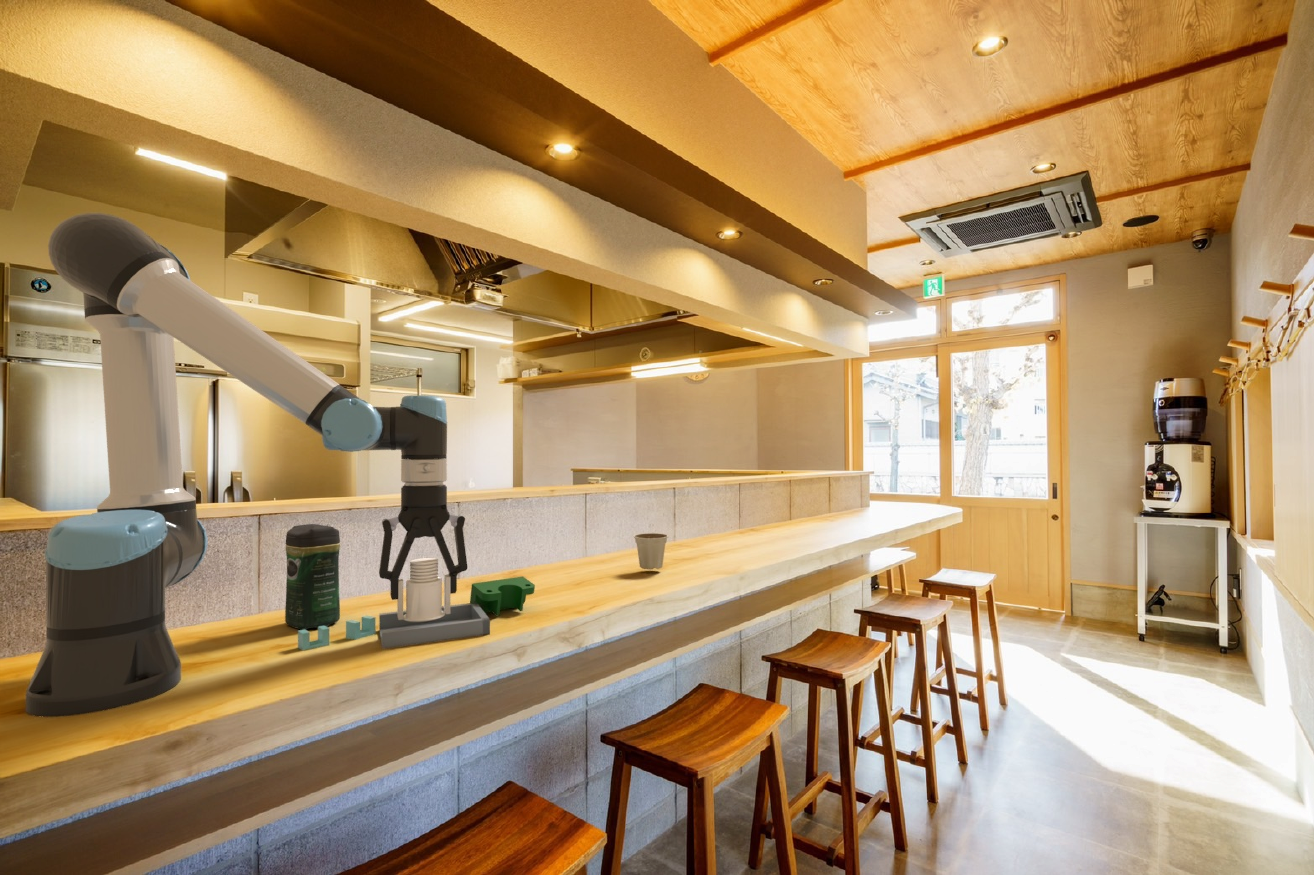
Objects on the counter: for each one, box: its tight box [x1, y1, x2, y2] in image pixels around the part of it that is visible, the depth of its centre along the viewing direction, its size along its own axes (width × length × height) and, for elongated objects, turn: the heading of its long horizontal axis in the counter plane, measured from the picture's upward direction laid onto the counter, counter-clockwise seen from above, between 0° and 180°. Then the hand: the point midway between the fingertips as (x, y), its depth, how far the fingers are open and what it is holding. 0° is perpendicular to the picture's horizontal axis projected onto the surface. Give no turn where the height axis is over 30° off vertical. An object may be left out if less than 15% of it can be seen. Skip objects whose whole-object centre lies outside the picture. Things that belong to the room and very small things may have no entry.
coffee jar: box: [284, 523, 341, 630], centre depth 114 cm, size 10×8×19 cm
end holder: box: [378, 602, 491, 650], centre depth 108 cm, size 17×13×3 cm
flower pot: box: [633, 532, 669, 570], centre depth 165 cm, size 9×9×9 cm
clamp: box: [469, 576, 536, 616], centre depth 121 cm, size 12×6×9 cm, turn 127°
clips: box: [297, 615, 377, 651], centre depth 103 cm, size 12×3×3 cm, turn 141°
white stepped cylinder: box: [403, 557, 445, 622], centre depth 107 cm, size 8×7×10 cm
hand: (424, 614), depth 107 cm, fingers closed on white stepped cylinder, 7 cm apart
